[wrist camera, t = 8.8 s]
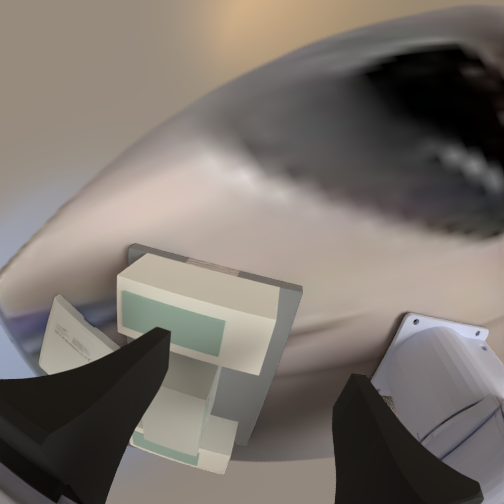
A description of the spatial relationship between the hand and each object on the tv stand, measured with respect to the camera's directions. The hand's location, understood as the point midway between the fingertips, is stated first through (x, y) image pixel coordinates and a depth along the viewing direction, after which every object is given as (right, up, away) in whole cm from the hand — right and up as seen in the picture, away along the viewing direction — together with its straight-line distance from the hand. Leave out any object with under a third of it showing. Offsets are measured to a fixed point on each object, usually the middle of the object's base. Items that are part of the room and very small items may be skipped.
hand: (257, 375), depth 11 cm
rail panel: (-5, -4, +12) cm, 14 cm away
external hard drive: (-18, -6, +15) cm, 25 cm away
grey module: (-5, -4, +11) cm, 13 cm away
